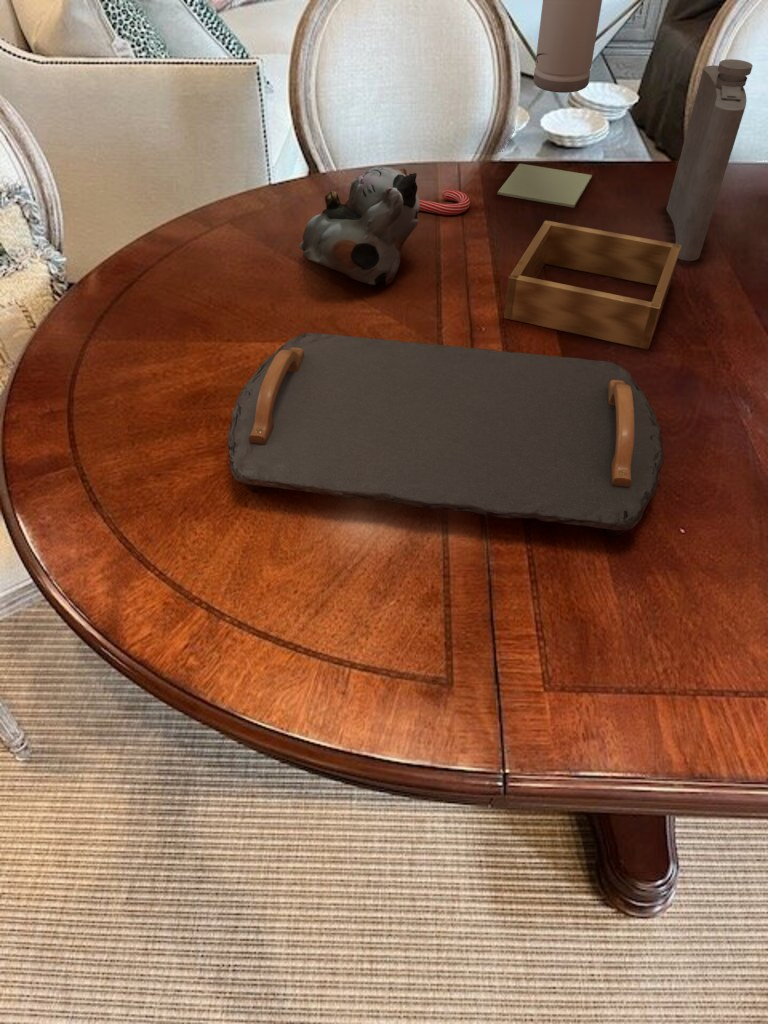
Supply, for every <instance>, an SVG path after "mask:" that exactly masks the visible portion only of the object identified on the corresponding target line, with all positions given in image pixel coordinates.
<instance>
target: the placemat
mask: <svg viewBox="0 0 768 1024" xmlns="http://www.w3.org/2000/svg"><path fill="white" fill-rule="evenodd" d="M592 178H593V175H592V174H588V173H580V172H575V171H570V170H563V169H558V168H557V169H556V168H550V167H544V166H538V165H532V164H525V163H519V164H517V166H516V167H515V168H514V170H513V171H512V172H511V174H510V175H509V176H508V178H507V179H506V180H505V182H504V183H503V184H502V186H501V187H500V188H499V189H498V191H497V194H496V195H497V196H504V197H510V198H516V199H520V200H521V199H522V200H525V201H526V200H527V201H533V202H538V203H545V204H549V205H556V206H561V207H568V208H575V207H576V205H577V203H578V202H579V200H580V198H581V196H582V195H583V193H584V192H585V190H586V188H587V187H588V185H589V183H590V181H591V180H592Z"/></svg>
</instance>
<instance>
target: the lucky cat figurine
mask: <svg viewBox="0 0 768 1024" xmlns="http://www.w3.org/2000/svg"><path fill="white" fill-rule="evenodd" d="M417 175H418V174H417V172H412V173H409V174H407V169H406V168H404V167H403V168H400V169H395V168H393V167H388V166H383V167H378V166H374V167H371V168H370V169H369V170H367V171H366V172H365V173H363V174H360V175H359V176H357V177H355V178H354V179H353V181H352V182H351V184H350V188H349V194H348V200H346V201H345V203H344V204H343V203H341V200H340V196H339V194H338V193H337V192H336V191H333V190H329V192H328V193H327V194H325V196H324V202H325V209H323V210H322V212H321V213H320V214H316V215H314V216H312V218H311V219H310V220H309V221H308V222H307V224H306V225H305V228H304V232H303V235H302V242H300V243H299V246H298V248H299V249H300V250H302V252H303V253H302V256H303V257H305V258H306V259H307V260H308V261H311V262H313V263H315V264H317V265H319V266H323V267H325V268H328V269H331V270H334V271H337V272H340V273H342V274H344V275H346V276H347V277H349V278H350V279H353V280H355V281H357V282H359V283H363V284H367V285H372V286H376V285H379V286H380V287H381V288H382V287H388V286H389V285H390V284H391V283H392V282H394V279H395V277H396V275H397V272H398V270H399V268H400V263H401V253H402V248H403V246H404V244H405V242H406V241H407V240H408V238H409V237H410V235H411V234H412V233H413V232H414V230H415V229H416V228H417V227H418V224H419V220H420V219H419V218H418V214H419V211H420V210H419V209H420V204H419V203H420V200H421V199H420V198H419V195H418V193H417V192H418V184H417V181H416V180H417Z"/></svg>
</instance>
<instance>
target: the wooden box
mask: <svg viewBox="0 0 768 1024" xmlns="http://www.w3.org/2000/svg"><path fill="white" fill-rule="evenodd" d="M681 246H682V245H679V244H675V243H673V242H667V241H663V240H656V239H650V238H645V237H640V236H634V235H628V234H623V233H618V232H613V231H607V230H601V229H597V228H596V229H595V228H591V227H584V226H578V225H573V224H568V223H562V222H556V221H551V220H544V221H543V223H542V224H541V226H540V228H539V229H538V231H537V232H536V234H535V235H534V237H533V238H532V240H531V242H530V243H529V245H528V247H527V248H526V250H525V252H524V253H523V255H522V256H521V258H520V259H519V261H518V263H517V264H516V266H515V267H514V269H513V270H512V272H511V273H510V275H509V276H508V281H507V287H506V297H505V306H504V314H503V318H504V319H506V320H510V321H516V322H520V323H525V324H530V325H534V326H539V327H542V328H547V329H550V330H551V329H552V330H556V331H561V332H565V333H571V334H575V335H579V336H584V337H588V338H592V339H597V340H602V341H607V342H611V343H616V344H620V345H625V346H629V347H633V348H639V349H642V350H649V349H650V346H651V344H652V343H651V342H652V340H653V338H654V335H655V332H656V328H657V325H658V323H659V319H660V317H661V313H662V311H663V308H664V305H665V301H666V299H667V297H668V294H669V290H670V288H671V284H672V281H673V277H674V274H675V271H676V267H677V263H678V260H679V259H678V257H679V253H680V250H681ZM545 265H550V266H554V267H559V268H564V269H569V270H574V271H580V272H585V273H591V274H595V275H601V276H604V277H605V276H606V277H611V278H616V279H621V280H624V281H625V280H626V281H631V282H636V283H640V284H647V285H651V286H656V289H655V291H654V294H653V297H652V300H651V301H648V300H644V299H638V298H633V297H629V296H625V295H618V294H614V293H609V292H604V291H600V290H594V289H589V288H584V287H580V286H574V285H569V284H566V283H565V284H564V283H559V282H554V281H550V280H546V279H545V280H544V279H540V278H538V276H539V275H540V273H541V272H542V270H543V268H544V266H545Z"/></svg>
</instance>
